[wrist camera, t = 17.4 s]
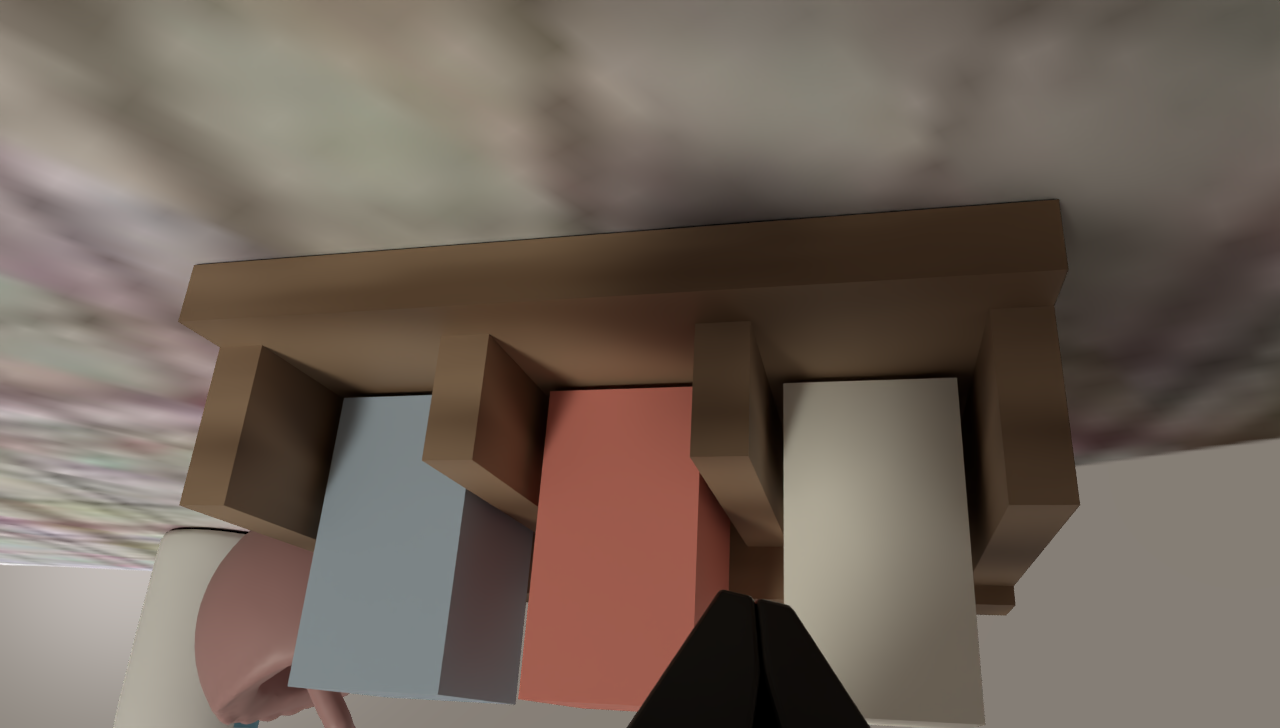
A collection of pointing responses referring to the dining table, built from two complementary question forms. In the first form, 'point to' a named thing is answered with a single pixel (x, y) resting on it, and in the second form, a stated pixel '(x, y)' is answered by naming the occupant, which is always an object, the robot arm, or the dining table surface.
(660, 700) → the robot arm
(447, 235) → the dining table surface
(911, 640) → the white key
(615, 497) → the red key
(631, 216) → the dining table surface
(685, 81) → the dining table surface
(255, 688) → the pink round pot
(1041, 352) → the key console
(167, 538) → the milk bottle
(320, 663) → the grey rectangular block
